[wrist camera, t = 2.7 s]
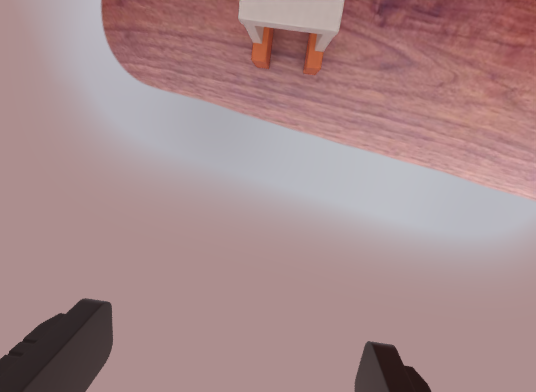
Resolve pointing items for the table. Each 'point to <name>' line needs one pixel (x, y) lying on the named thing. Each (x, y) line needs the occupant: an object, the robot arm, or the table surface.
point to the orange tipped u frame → (291, 26)
